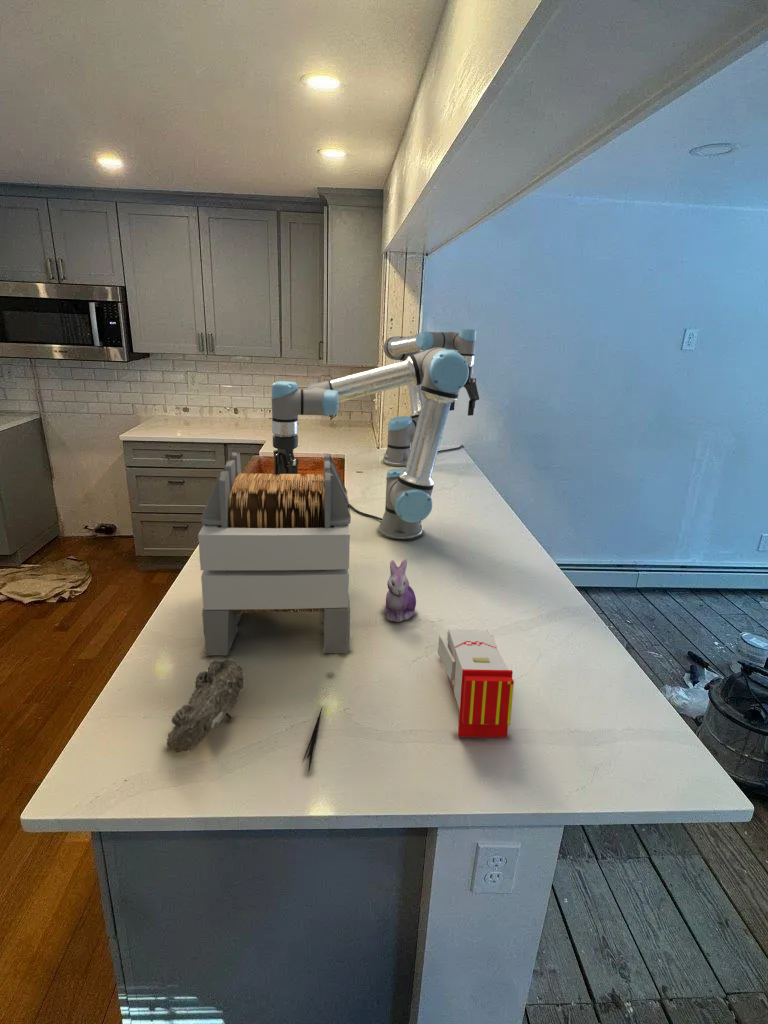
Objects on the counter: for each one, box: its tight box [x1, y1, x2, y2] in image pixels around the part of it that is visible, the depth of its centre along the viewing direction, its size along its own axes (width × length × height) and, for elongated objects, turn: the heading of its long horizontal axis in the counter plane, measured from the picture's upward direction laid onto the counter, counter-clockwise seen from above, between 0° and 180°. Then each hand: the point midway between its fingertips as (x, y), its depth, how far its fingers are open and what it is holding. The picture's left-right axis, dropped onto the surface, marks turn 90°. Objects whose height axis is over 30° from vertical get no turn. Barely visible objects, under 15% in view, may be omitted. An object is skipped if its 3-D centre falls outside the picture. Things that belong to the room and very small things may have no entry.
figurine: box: [384, 558, 417, 623], centre depth 145 cm, size 9×10×15 cm
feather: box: [301, 673, 332, 771], centre depth 108 cm, size 2×28×2 cm
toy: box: [437, 628, 515, 738], centre depth 117 cm, size 12×13×30 cm
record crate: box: [197, 451, 352, 657], centre depth 136 cm, size 34×33×41 cm
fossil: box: [166, 658, 245, 754], centre depth 106 cm, size 22×10×15 cm
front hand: (286, 507), depth 178 cm, fingers closed on block, 5 cm apart
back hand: (460, 412), depth 260 cm, fingers open, 13 cm apart
